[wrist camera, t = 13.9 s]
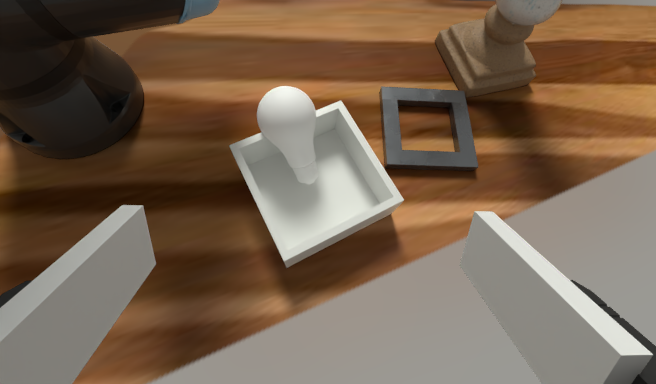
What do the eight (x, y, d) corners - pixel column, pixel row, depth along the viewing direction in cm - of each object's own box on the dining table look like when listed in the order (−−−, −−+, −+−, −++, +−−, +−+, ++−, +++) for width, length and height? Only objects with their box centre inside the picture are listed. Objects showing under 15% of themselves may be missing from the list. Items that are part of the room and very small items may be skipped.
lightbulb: (344, 179, 34) (313, 76, 29) (294, 203, 32) (253, 99, 28) (324, 166, 39) (295, 78, 35) (279, 186, 38) (243, 96, 33)
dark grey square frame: (384, 168, 39) (387, 164, 38) (379, 92, 43) (381, 86, 42) (473, 171, 40) (478, 167, 39) (460, 96, 44) (464, 90, 43)
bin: (238, 165, 38) (228, 145, 33) (336, 124, 41) (340, 100, 36) (286, 267, 34) (284, 261, 29) (391, 213, 37) (404, 200, 32)
